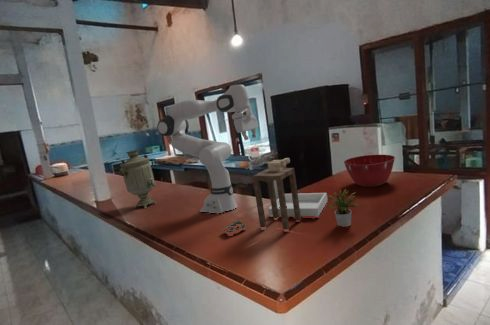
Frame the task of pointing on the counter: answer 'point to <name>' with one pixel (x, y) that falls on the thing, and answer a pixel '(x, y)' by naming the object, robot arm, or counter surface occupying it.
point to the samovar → (138, 177)
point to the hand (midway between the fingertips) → (250, 138)
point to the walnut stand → (279, 180)
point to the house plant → (343, 208)
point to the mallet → (278, 164)
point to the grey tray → (304, 204)
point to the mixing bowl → (370, 169)
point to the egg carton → (235, 225)
